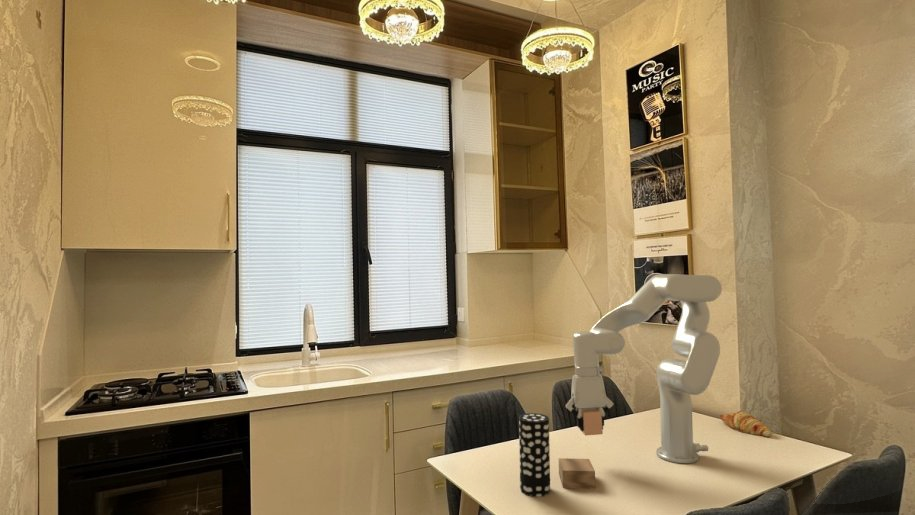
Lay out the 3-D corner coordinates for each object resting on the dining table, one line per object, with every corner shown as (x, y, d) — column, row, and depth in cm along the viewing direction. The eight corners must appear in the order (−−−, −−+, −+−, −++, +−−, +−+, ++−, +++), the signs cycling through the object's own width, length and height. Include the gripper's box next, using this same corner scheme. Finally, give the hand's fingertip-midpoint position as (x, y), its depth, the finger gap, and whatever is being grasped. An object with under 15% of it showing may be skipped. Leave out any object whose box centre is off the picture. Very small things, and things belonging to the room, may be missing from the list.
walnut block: (589, 475, 144) (589, 458, 144) (595, 489, 135) (595, 471, 136) (558, 475, 145) (558, 458, 145) (562, 488, 136) (562, 470, 136)
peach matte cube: (596, 428, 155) (595, 406, 155) (602, 434, 149) (601, 411, 150) (580, 429, 155) (578, 407, 155) (585, 435, 149) (583, 412, 149)
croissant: (777, 447, 175) (783, 426, 176) (760, 437, 171) (767, 416, 173) (725, 428, 194) (731, 410, 196) (708, 419, 191) (715, 400, 192)
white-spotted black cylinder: (517, 484, 139) (516, 413, 139) (545, 482, 139) (544, 412, 140) (523, 497, 130) (522, 422, 131) (553, 495, 131) (552, 421, 132)
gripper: (609, 367, 157) (613, 423, 156) (557, 370, 156) (561, 427, 155) (618, 371, 149) (622, 430, 149) (563, 375, 148) (567, 435, 148)
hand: (590, 428), depth 152 cm, fingers closed on peach matte cube, 5 cm apart
